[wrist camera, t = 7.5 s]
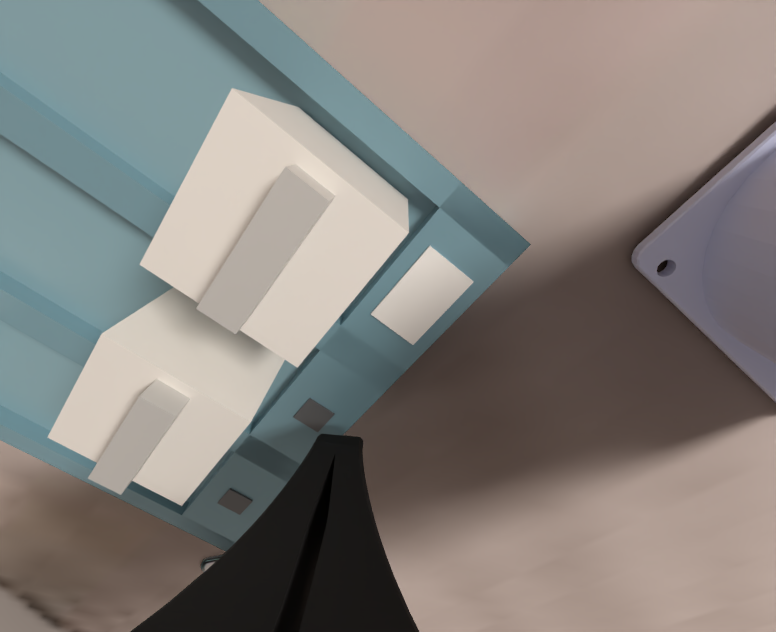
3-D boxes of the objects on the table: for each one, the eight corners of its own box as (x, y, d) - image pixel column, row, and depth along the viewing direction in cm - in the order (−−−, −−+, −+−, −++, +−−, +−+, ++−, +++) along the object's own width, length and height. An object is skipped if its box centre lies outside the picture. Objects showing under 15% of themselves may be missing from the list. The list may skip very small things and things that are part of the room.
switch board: (515, 231, 12) (531, 244, 10) (242, 518, 18) (226, 553, 16) (-142, -356, 7) (-282, -482, 6) (-205, 284, 13) (-283, 303, 12)
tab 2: (297, 337, 12) (240, 441, 8) (241, 407, 13) (168, 527, 9) (198, 271, 11) (78, 348, 7) (149, 351, 13) (24, 456, 8)
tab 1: (408, 199, 10) (409, 241, 6) (331, 295, 12) (289, 385, 7) (298, 107, 9) (213, 82, 5) (229, 221, 11) (117, 275, 7)
